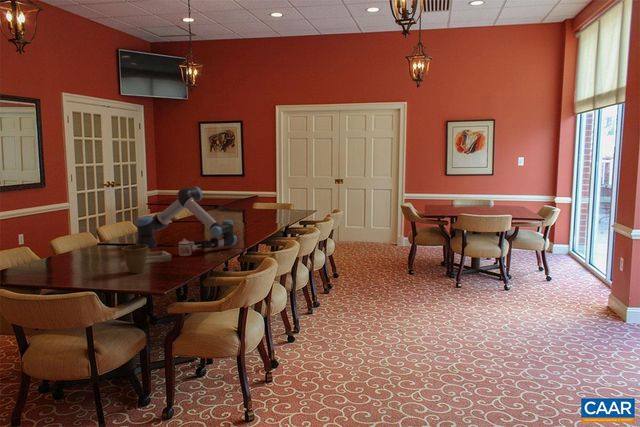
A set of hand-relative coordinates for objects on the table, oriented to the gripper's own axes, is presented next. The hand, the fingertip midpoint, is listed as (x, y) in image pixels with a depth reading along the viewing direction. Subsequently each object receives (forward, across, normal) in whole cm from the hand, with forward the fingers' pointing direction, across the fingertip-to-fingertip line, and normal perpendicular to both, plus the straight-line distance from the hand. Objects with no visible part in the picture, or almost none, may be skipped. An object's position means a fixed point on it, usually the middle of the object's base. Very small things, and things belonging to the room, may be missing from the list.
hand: (188, 246), depth 352 cm
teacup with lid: (+1, +1, -7) cm, 7 cm away
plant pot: (+44, -27, -6) cm, 52 cm away
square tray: (+26, -1, -6) cm, 27 cm away
